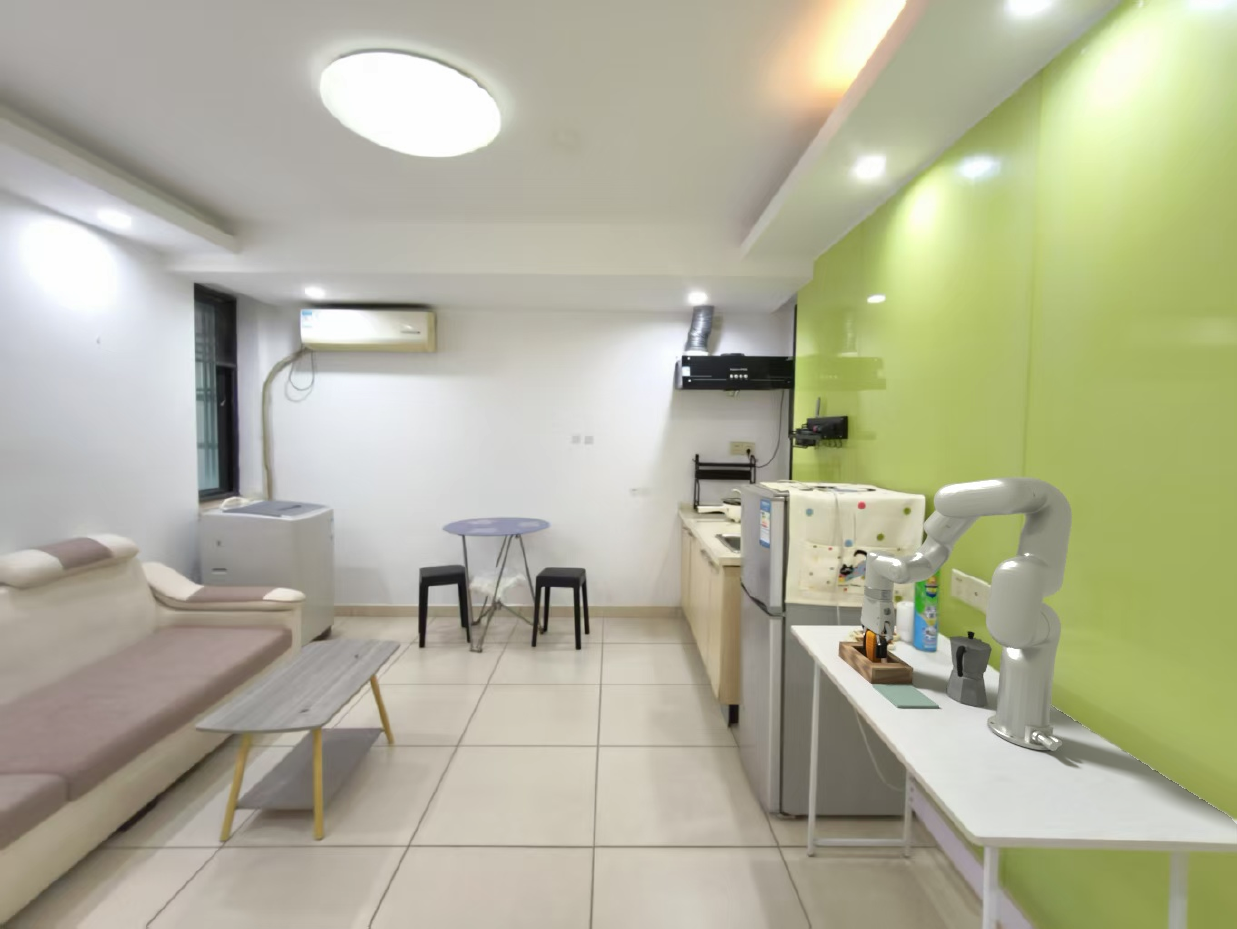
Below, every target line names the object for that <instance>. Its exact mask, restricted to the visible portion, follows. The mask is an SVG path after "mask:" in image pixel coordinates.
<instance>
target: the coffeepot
mask: <svg viewBox="0 0 1237 929" xmlns="http://www.w3.org/2000/svg"><path fill="white" fill-rule="evenodd" d="M966 632H967V636H962V635H957V636H949V641H950V653H951V663H952V665H953V666H952V669H951V670H950V671H951V672H950V675H949V679H948V683H947V685H946V690H945V691H946V695H947V696H948V697H949V698H950V699H952V700H953V701H955V702H957V703H960V704H962V705H966V706H970V707H977V708H978V707H979V708H980V707H981V708H982V707H984V706H986V705H988V702H987V691H986V686H985V678H984V674H985V673H986V672H987V668H988V665H989V660H990V657H991V653H992V647H991V645H990V643H987V642H984V641H982V639H980V638H977V637H974V636H975V634H976V633H975V632H974V631H972V630H971V631H970V630H969V631H966Z"/></svg>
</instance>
